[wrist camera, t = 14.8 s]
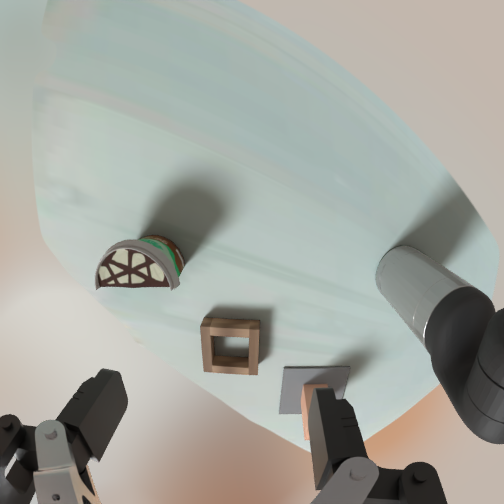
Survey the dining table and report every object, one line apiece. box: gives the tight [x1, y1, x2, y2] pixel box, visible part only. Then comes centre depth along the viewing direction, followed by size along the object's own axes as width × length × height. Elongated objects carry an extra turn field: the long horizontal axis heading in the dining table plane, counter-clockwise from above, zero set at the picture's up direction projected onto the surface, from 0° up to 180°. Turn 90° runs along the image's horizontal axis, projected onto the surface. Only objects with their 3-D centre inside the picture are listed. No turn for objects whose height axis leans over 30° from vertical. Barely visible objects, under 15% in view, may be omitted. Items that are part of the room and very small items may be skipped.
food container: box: [95, 235, 185, 291], centre depth 39 cm, size 12×6×10 cm, turn 93°
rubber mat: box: [279, 366, 350, 414], centre depth 50 cm, size 12×12×1 cm
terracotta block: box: [301, 384, 328, 440], centre depth 45 cm, size 4×4×10 cm
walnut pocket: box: [200, 317, 260, 375], centre depth 46 cm, size 9×9×3 cm
